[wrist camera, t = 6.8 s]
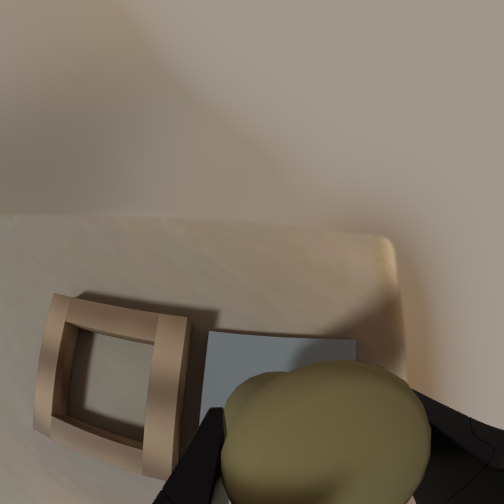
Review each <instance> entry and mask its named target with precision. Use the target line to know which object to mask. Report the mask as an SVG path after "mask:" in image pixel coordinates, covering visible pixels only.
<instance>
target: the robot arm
mask: <svg viewBox="0 0 504 504" xmlns="http://www.w3.org/2000/svg"><path fill="white" fill-rule="evenodd" d="M412 391H413V392H414V393H415V394H416V396H417V397H418V398H419V399H420V401H421V403H422V404H423V406H424V408H425V412H426V415H427V418H428V421H429V424H430V428H431V454H430V458H429V461H428V464H427V467H426V470H425V473H424V476H423V479H422V481H421V483H420V484H419V486H418V487H417V489H416V490H415V492H414V494H413V497H414V499H415V501H416V504H504V430H501V429H498V428H495V427H492V426H489V425H487V424H484V423H482V422H480V421H477V420H475V419H473V418H471V417H469V418H468V416H466V415H464V414H462V413H460V412H458V411H456V410H454V409H452V408H449V407H447V406H445V405H443V404H441V403H439V402H437V401H435V400H433V399H431V398H429V397H427V396H425V395H423V394H421V393H419V392H417V391H415V390H413V389H412ZM226 437H227V425H226V419H225V413H224V409H223V407H211V408H209V410H208V411H207V413H206V415H205V417H204V418H203V420H202V422H201V424H200V425H199V427H198V429H197V431H196V432H195V434H194V436H193V438H192V439H191V441H190V443H189V444H188V446H187V448H186V450H185V451H184V453H183V455H182V456H181V458H180V460H179V461H178V463H177V465H176V466H175V468H174V470H173V471H172V473H171V475H170V476H169V478H168V480H167V481H166V483H165V485H164V486H163V488H162V489H163V490H161V491H160V492H159V494H158V496H157V497H156V499H155V500H154V502H153V503H152V504H228V502H229V497H228V495H227V493H226V491H225V489H224V487H223V484H222V474H221V451H222V448H223V445H224V442H225V439H226Z"/></svg>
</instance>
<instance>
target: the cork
mask: <svg viewBox="0 0 504 504" xmlns="http://www.w3.org/2000/svg"><path fill="white" fill-rule="evenodd" d="M224 413H225V419H226V425H227V437H226V439H225V442H224V445H223V448H222V451H221V474H222V484H223V487H224V489H225V491H226V493H227V495H228V497H229V499H230V501H231V503H232V504H406V503H407V502H408V501H409V499H410V498H411V496H412V495H413V494H414V492H415V490H416V489H417V487H418V486H419V484H420V483H421V481H422V479H423V476H424V473H425V470H426V467H427V464H428V461H429V458H430V454H431V428H430V424H429V421H428V418H427V415H426V412H425V408H424V406H423V404H422V403H421V401H420V399H419V398H418V397H417V396H416V394H415V393H414V392H413V391H412V389H411V388H410V387H409V386H408V384H407V383H406V382H405V381H404V380H403V379H401V378H399V377H398V376H396V375H394V374H393V373H391V372H389V371H388V370H386V369H384V368H383V367H380V366H376V365H372V364H367V363H362V362H357V361H352V360H348V359H339V360H330V361H319V362H312V363H309V364H307V365H304V366H302V367H299V368H297V369H294V370H292V371H289V372H284V371H278V372H264V373H262V374H259V375H256V376H253V377H250V378H249V379H247V380H246V381H244V382H243V383H241V384H240V385H239V386H237V387H236V388H235V390H234V391H233V392H232V394H231V395H230V396H229V397H228V399H227V401H226V404H225V407H224Z"/></svg>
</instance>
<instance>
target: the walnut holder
mask: <svg viewBox="0 0 504 504" xmlns="http://www.w3.org/2000/svg"><path fill="white" fill-rule="evenodd" d="M79 328H80V329H84V330H87V331H91V332H95V333H99V334H103V335H108V336H112V337H116V338H121V339H126V340H130V341H135V342H140V343H145V344H151V345H154V350H153V356H152V363H151V371H150V378H149V386H148V395H147V405H146V415H145V426H144V440H143V442H141V441H137V440H134V439H130V438H127V437H124V436H120V435H117V434H114V433H111V432H108V431H105V430H102V429H99V428H97V427H94V426H91V425H89V424H86V423H84V422H81V421H79V420H76V419H74V418H72V417H69V416H67V407H68V396H69V387H70V379H71V371H72V365H73V358H74V352H75V347H76V341H77V336H78V331H79ZM192 328H193V324H192V323H191V322H190V320H189V319H188V317H182V316H175V315H168V314H161V313H154V312H148V311H141V310H135V309H129V308H124V307H118V306H113V305H107V304H102V303H97V302H92V301H87V300H83V299H78V298H73V297H69V296H65V295H60V294H56V293H54V294H53V298H52V301H51V305H50V309H49V313H48V317H47V321H46V326H45V330H44V335H43V340H42V345H41V351H40V357H39V363H38V370H37V378H36V387H35V398H34V414H33V429H35V430H36V431H38V432H40V433H42V434H44V435H45V436H47V437H49V438H51V439H53V440H55V441H57V442H59V443H61V444H63V445H65V446H67V447H69V448H71V449H73V450H75V451H78V452H80V453H82V454H85V455H87V456H89V457H92V458H94V459H97V460H99V461H102V462H105V463H107V464H110V465H113V466H116V467H119V468H122V469H125V470H128V471H131V472H134V473H138V474H141V475H145V476H149V477H152V478H156V479H160V480H165V481H167V480H168V478H169V476H170V475H171V473H172V471H173V470H174V468H175V466H176V465H177V463H178V461H179V448H180V435H181V423H182V412H183V402H184V392H185V383H186V374H187V366H188V358H189V350H190V342H191V335H192Z"/></svg>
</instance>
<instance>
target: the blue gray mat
mask: <svg viewBox="0 0 504 504" xmlns="http://www.w3.org/2000/svg"><path fill="white" fill-rule="evenodd" d="M339 359H348V360H352V361H356V339H309V338H286V337H270V336H256V335H244V334H233V333H223V332H214V331H209V336H208V344H207V353H206V361H205V370H204V380H203V389H202V399H201V410H200V421H199V425H200V424H201V422H202V420H203V418H204V417H205V415H206V413H207V411H208V410H209V408H211V407H223V409H224V407H225V404H226V401H227V399H228V397H229V396H230V395H231V394H232V392H233V391H234V390H235V388H236V387H237V386H239V385H240V384H241V383H243V382H244V381H246V380H247V379H249V378H250V377H253V376H256V375H259V374H262V373H264V372H278V371H284V372H289V371H292V370H294V369H297V368H299V367H302V366H304V365H307V364H309V363H312V362H319V361H330V360H339Z"/></svg>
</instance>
